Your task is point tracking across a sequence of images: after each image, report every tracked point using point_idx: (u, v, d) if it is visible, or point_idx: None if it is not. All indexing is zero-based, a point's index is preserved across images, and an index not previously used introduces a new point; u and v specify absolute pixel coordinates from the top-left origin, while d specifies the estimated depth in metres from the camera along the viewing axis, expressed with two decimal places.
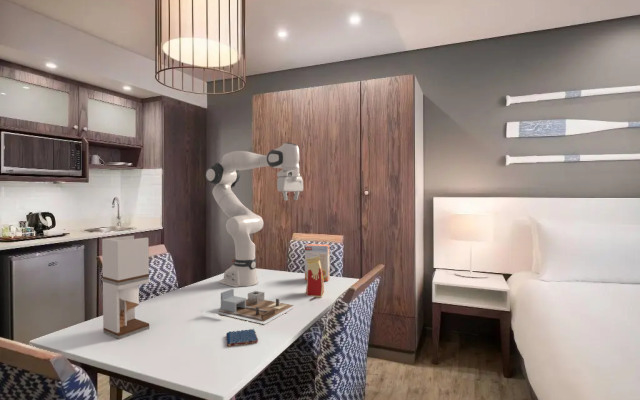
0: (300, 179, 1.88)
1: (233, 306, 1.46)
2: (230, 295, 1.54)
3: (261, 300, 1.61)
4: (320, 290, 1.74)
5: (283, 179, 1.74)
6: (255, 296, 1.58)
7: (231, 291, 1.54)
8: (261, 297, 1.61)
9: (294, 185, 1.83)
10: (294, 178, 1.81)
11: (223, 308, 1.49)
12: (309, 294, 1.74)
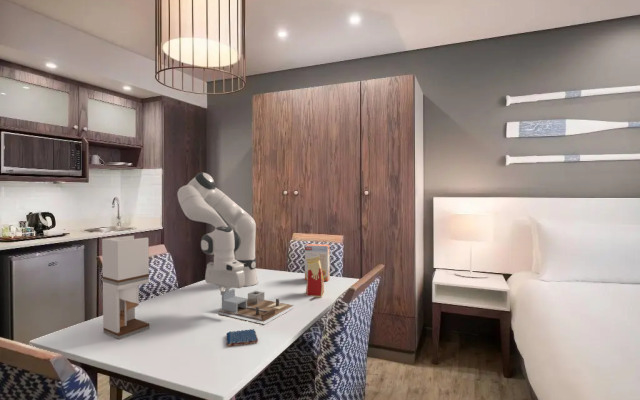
0: None
1: (234, 306, 1.46)
2: (231, 295, 1.53)
3: (261, 300, 1.61)
4: (320, 290, 1.74)
5: (243, 273, 1.50)
6: (255, 296, 1.58)
7: (232, 291, 1.54)
8: (261, 297, 1.61)
9: None
10: None
11: (224, 308, 1.49)
12: (309, 294, 1.74)
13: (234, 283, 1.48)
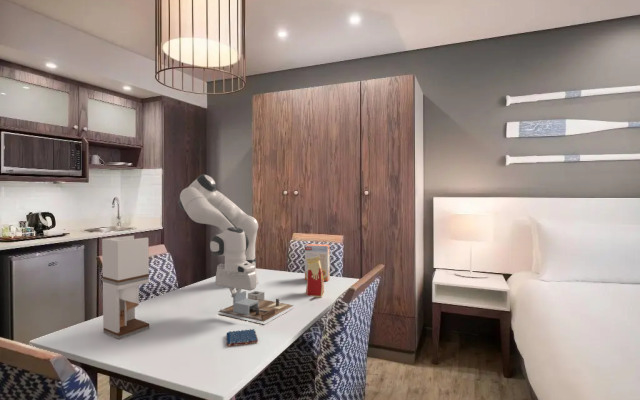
0: None
1: (246, 309, 1.43)
2: (242, 297, 1.50)
3: (261, 300, 1.61)
4: (320, 290, 1.74)
5: (254, 275, 1.47)
6: (255, 296, 1.58)
7: (243, 293, 1.51)
8: (261, 297, 1.61)
9: None
10: None
11: (236, 311, 1.46)
12: (309, 294, 1.74)
13: (246, 285, 1.45)
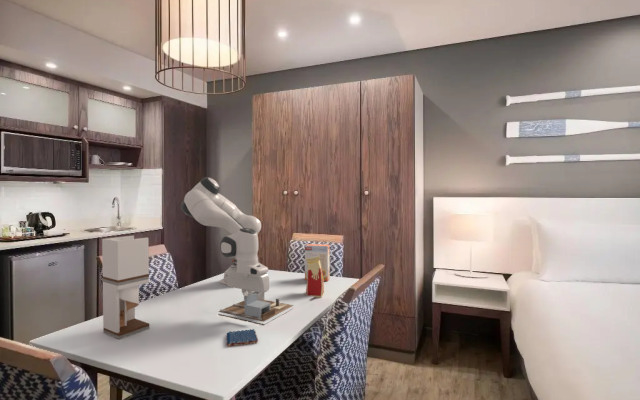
0: None
1: (258, 311, 1.40)
2: (254, 299, 1.47)
3: (261, 300, 1.61)
4: (320, 290, 1.74)
5: (267, 277, 1.44)
6: None
7: (254, 295, 1.48)
8: (261, 297, 1.61)
9: None
10: None
11: (247, 313, 1.43)
12: (309, 294, 1.74)
13: (258, 287, 1.42)
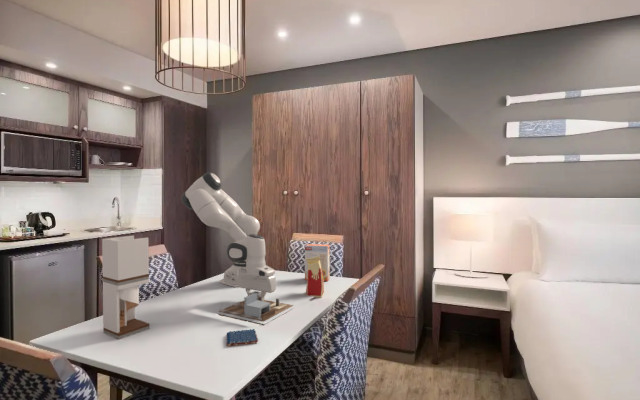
0: None
1: (258, 311, 1.40)
2: (253, 299, 1.48)
3: None
4: (320, 290, 1.74)
5: (274, 278, 1.58)
6: None
7: (254, 295, 1.48)
8: None
9: None
10: None
11: (247, 313, 1.43)
12: (309, 294, 1.74)
13: (266, 287, 1.56)
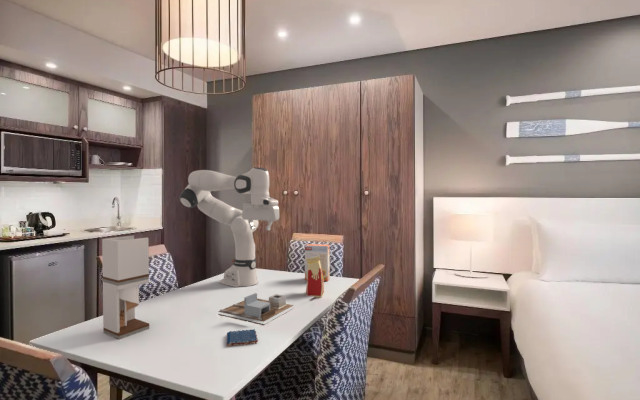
0: None
1: (258, 311, 1.40)
2: (253, 299, 1.48)
3: (283, 304, 1.55)
4: (320, 290, 1.74)
5: (278, 208, 1.65)
6: (277, 300, 1.53)
7: (254, 295, 1.48)
8: (283, 301, 1.55)
9: None
10: None
11: (247, 313, 1.43)
12: (309, 294, 1.74)
13: (270, 216, 1.63)
